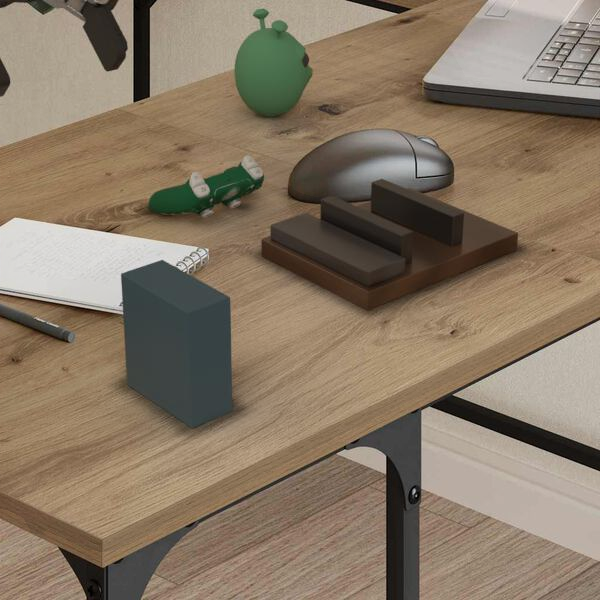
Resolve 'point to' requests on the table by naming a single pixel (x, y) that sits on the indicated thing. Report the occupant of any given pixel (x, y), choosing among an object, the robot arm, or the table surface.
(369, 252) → the brown wooden stand
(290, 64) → the alien toy
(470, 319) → the table surface
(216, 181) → the gaming controller
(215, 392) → the back pad
